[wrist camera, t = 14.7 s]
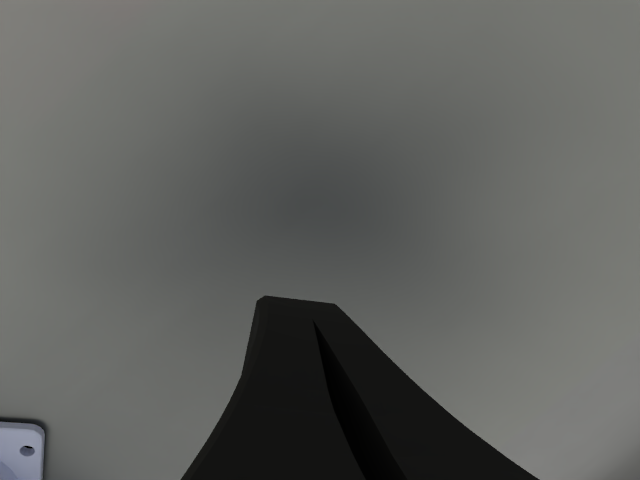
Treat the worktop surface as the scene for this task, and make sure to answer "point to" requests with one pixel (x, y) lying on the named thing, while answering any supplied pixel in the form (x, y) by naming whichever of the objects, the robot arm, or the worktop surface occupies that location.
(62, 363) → the worktop surface
